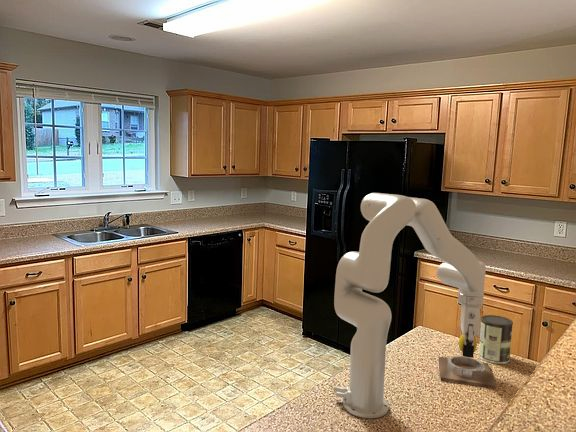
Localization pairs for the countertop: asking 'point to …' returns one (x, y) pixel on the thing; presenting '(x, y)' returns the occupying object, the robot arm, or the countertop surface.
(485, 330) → the coffee can
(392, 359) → the countertop surface
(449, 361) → the steel ring
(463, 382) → the walnut board
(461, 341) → the lemon
